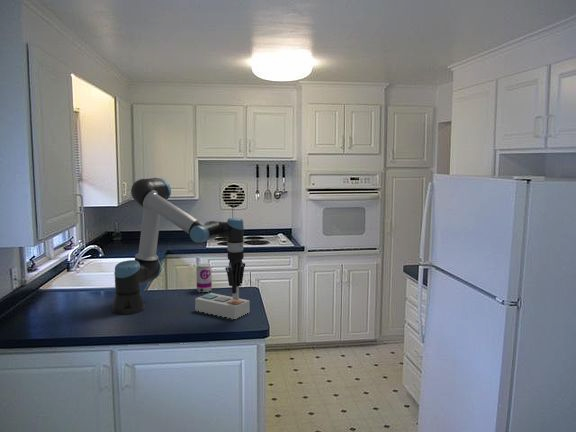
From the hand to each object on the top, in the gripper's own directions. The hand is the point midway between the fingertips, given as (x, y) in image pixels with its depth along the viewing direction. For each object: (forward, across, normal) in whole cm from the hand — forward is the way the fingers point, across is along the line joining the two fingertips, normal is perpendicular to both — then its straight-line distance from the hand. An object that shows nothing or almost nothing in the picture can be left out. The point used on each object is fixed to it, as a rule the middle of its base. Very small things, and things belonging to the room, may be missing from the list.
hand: (235, 299), depth 231 cm
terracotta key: (+5, 0, 0) cm, 5 cm away
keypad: (+8, 0, +8) cm, 11 cm away
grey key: (+5, 0, +8) cm, 10 cm away
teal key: (+5, 0, +16) cm, 17 cm away
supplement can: (+8, +23, +39) cm, 46 cm away
